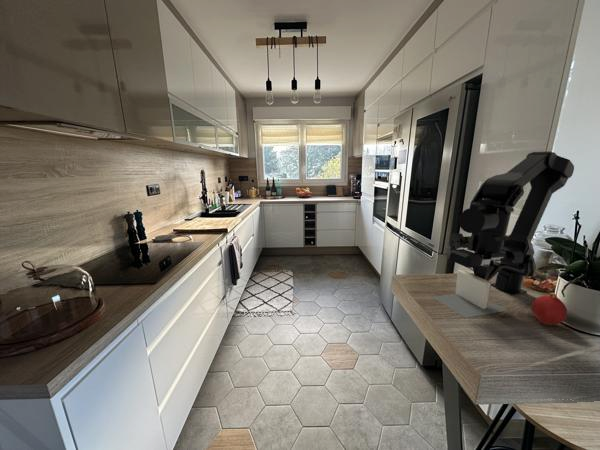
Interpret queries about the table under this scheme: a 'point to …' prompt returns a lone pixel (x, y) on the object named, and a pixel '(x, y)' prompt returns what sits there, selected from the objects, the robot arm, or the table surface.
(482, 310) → the mat
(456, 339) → the table surface
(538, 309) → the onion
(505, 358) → the table surface
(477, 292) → the tile
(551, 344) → the table surface
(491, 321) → the table surface
